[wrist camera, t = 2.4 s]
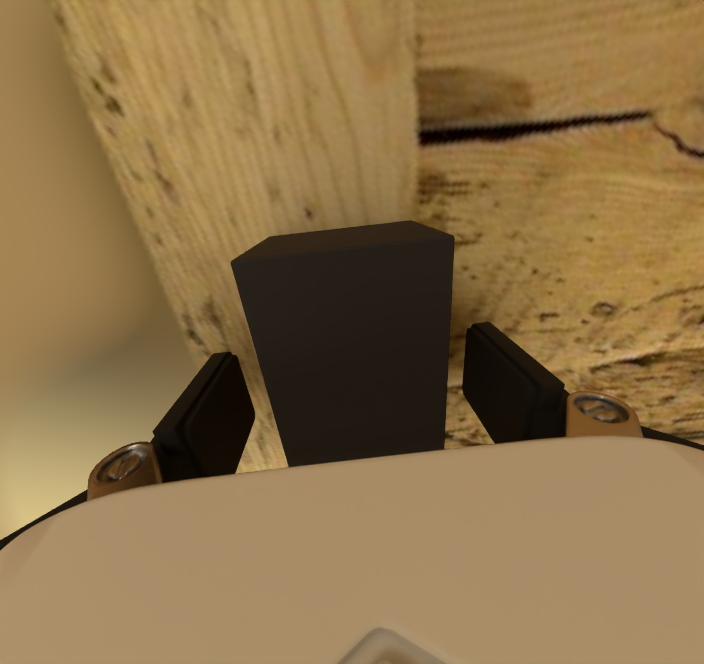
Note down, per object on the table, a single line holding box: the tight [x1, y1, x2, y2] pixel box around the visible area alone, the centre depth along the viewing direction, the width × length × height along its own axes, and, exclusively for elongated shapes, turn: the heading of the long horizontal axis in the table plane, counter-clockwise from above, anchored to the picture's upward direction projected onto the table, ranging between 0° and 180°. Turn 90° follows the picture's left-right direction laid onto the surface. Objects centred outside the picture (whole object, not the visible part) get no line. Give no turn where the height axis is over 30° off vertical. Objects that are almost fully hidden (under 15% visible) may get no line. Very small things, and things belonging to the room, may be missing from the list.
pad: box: [231, 221, 455, 467], centre depth 10 cm, size 10×5×4 cm, turn 6°
